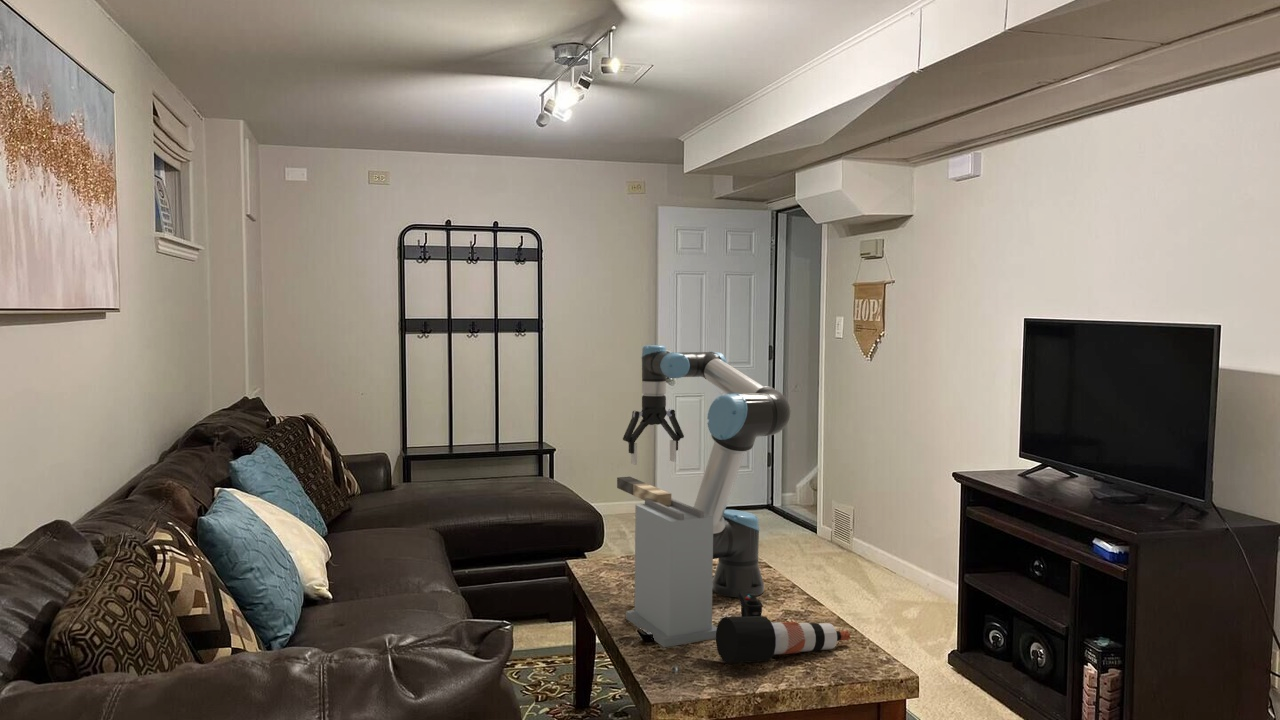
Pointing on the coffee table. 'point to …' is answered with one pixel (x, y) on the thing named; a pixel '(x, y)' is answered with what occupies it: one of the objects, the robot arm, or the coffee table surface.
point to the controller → (750, 604)
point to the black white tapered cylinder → (771, 638)
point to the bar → (643, 490)
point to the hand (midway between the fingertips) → (653, 462)
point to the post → (673, 573)
